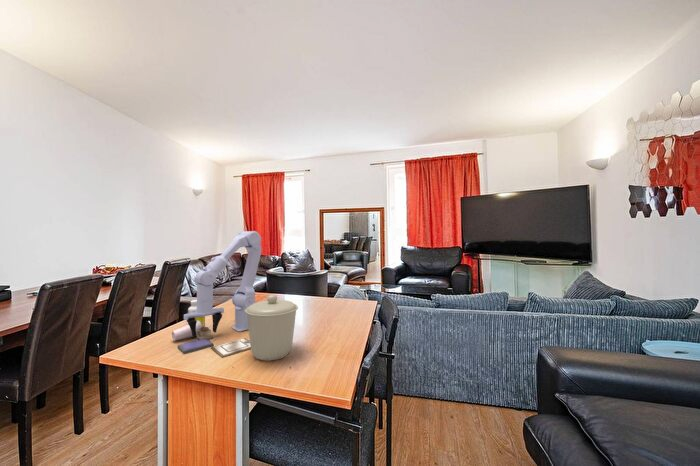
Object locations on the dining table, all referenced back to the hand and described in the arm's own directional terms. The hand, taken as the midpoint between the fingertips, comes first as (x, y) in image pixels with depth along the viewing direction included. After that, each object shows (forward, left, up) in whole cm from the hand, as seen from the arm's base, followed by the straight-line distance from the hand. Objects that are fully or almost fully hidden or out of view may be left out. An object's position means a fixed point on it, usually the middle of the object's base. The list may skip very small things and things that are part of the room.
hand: (204, 334), depth 111 cm
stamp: (0, 0, -2) cm, 2 cm away
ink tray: (+5, +6, -2) cm, 8 cm away
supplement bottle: (-1, -14, -2) cm, 14 cm away
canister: (-12, +32, -2) cm, 34 cm away
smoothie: (+10, -5, 0) cm, 11 cm away
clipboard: (-5, +17, -2) cm, 18 cm away
